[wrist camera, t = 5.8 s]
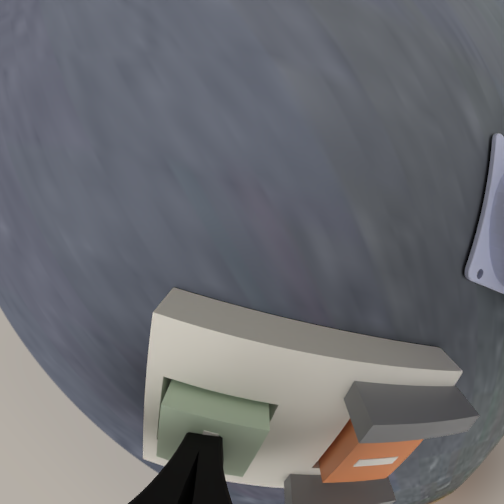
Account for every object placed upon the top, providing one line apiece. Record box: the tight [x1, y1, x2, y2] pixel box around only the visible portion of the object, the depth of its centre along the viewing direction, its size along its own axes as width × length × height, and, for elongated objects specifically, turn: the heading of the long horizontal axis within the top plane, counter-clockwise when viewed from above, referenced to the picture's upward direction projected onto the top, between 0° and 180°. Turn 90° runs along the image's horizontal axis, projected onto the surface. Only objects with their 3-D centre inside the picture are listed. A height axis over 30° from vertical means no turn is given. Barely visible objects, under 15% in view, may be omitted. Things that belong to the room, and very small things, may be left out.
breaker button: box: [318, 419, 423, 483], centre depth 11 cm, size 4×4×3 cm
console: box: [143, 287, 480, 504], centre depth 10 cm, size 14×10×5 cm
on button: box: [156, 379, 270, 477], centre depth 10 cm, size 4×4×3 cm
